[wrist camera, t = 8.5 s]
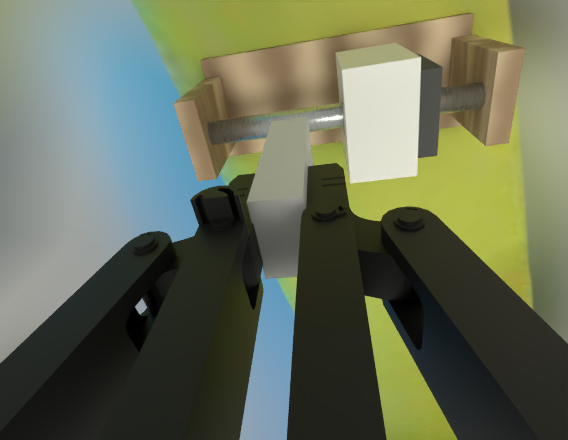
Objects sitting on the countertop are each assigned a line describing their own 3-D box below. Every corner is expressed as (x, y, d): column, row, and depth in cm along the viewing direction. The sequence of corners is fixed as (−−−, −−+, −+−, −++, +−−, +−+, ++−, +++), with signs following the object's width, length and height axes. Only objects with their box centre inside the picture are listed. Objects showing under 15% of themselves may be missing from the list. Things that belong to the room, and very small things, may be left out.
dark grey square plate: (397, 131, 39) (414, 158, 33) (398, 57, 35) (416, 71, 29) (416, 129, 39) (437, 155, 33) (419, 53, 35) (442, 67, 29)
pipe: (210, 143, 39) (203, 153, 37) (202, 116, 37) (194, 125, 35) (483, 105, 35) (496, 113, 32) (487, 74, 33) (500, 80, 31)
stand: (227, 153, 49) (203, 197, 38) (202, 59, 42) (166, 80, 32) (459, 123, 44) (505, 163, 34) (470, 13, 38) (529, 19, 28)
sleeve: (342, 145, 42) (350, 183, 33) (335, 52, 37) (341, 69, 28) (395, 138, 41) (417, 175, 32) (395, 42, 36) (421, 57, 27)
